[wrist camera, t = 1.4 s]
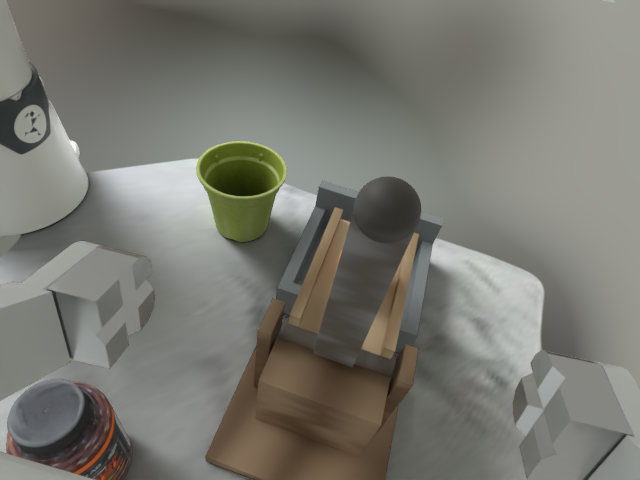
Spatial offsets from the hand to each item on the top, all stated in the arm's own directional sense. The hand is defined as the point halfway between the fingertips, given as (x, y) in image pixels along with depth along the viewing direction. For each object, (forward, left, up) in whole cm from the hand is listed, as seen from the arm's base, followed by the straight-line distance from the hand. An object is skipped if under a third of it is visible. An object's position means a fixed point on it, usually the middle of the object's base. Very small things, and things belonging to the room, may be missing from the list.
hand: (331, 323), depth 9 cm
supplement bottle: (-14, 0, -31) cm, 34 cm away
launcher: (+1, +16, -22) cm, 27 cm away
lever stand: (+1, +9, -31) cm, 32 cm away
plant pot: (-14, +28, -31) cm, 44 cm away
